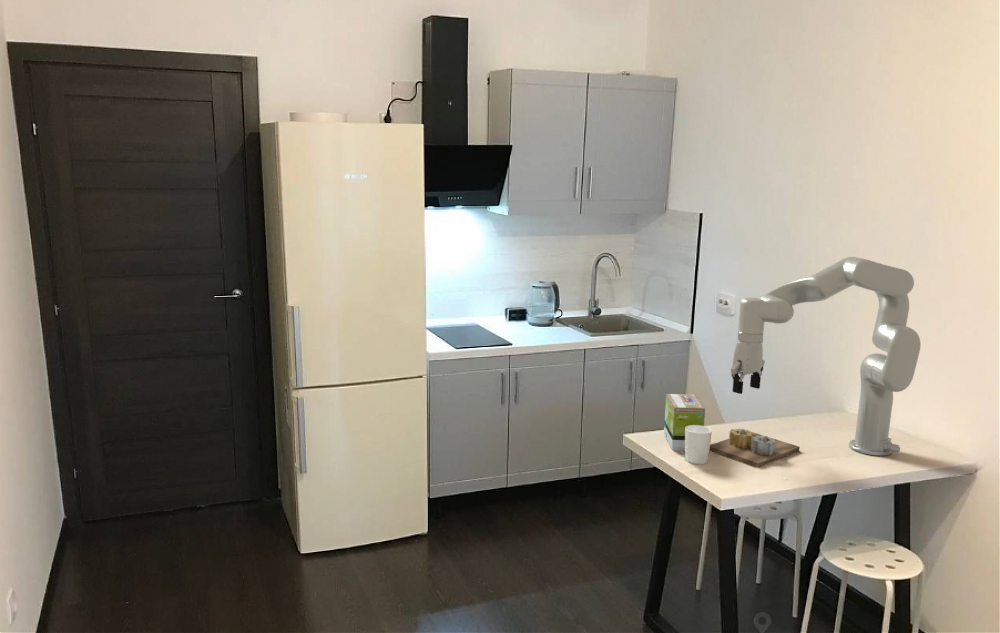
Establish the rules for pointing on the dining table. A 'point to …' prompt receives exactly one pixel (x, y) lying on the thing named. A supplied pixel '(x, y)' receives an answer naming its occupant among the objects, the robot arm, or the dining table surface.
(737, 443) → the brass gear
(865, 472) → the dining table surface
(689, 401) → the tea box
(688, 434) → the white cup
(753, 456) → the gear board
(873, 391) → the robot arm
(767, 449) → the grey gear
